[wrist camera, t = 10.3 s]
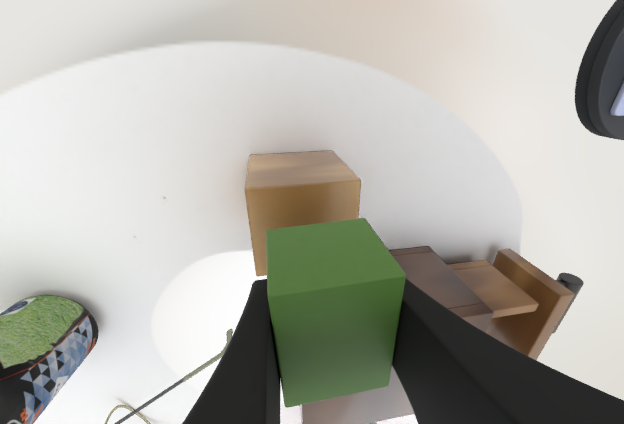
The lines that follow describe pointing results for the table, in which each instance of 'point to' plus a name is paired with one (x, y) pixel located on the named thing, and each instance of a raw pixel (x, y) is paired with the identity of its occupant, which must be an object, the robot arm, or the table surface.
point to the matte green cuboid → (332, 308)
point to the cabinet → (392, 399)
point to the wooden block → (297, 194)
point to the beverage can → (40, 353)
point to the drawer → (520, 299)
